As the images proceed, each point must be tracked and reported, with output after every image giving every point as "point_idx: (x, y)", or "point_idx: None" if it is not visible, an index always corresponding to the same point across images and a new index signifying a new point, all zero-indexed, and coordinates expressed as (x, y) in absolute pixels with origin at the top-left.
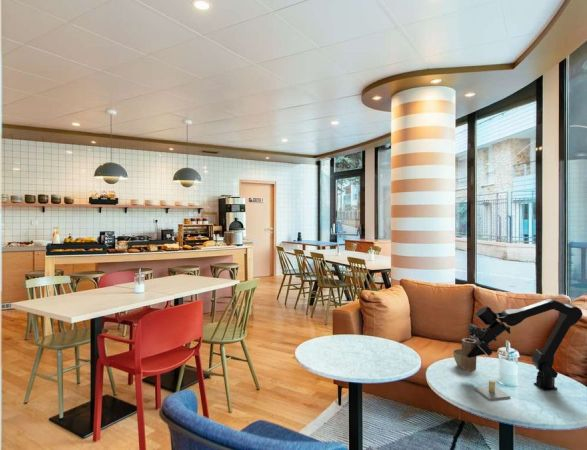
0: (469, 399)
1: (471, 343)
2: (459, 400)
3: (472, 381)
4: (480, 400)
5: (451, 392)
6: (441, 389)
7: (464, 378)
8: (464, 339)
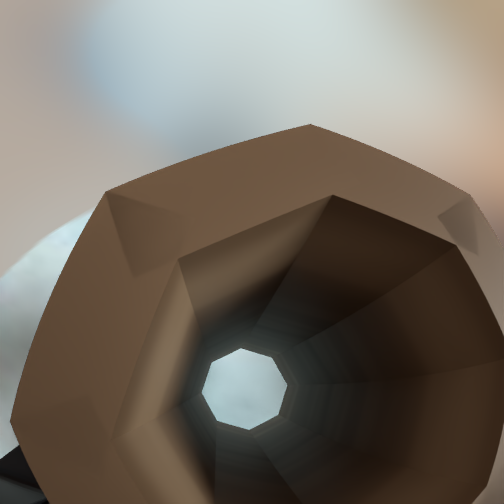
0: (12, 333)
1: (28, 439)
2: (4, 284)
3: (228, 411)
4: (12, 384)
5: (62, 262)
6: (87, 221)
7: (260, 368)
8: (424, 221)
